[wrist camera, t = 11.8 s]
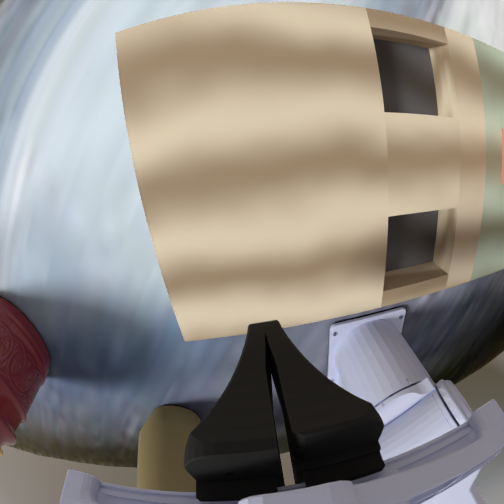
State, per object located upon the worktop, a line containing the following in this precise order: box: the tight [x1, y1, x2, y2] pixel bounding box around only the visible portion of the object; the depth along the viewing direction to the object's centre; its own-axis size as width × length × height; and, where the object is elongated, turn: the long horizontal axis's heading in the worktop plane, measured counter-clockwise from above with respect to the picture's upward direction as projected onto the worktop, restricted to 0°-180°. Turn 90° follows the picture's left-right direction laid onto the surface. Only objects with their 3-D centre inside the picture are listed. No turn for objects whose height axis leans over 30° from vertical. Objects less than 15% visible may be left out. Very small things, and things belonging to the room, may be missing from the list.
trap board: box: [115, 2, 504, 341], centre depth 17 cm, size 22×37×4 cm, turn 98°
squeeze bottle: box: [137, 405, 201, 492], centre depth 21 cm, size 8×8×18 cm
